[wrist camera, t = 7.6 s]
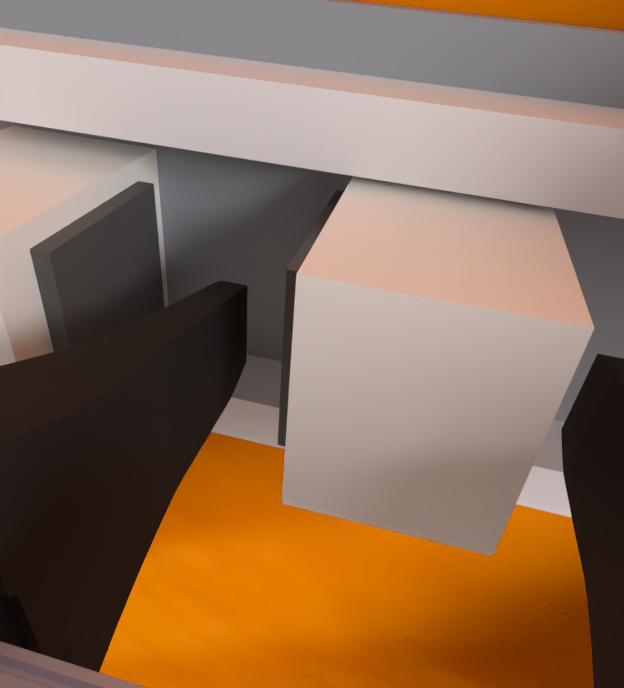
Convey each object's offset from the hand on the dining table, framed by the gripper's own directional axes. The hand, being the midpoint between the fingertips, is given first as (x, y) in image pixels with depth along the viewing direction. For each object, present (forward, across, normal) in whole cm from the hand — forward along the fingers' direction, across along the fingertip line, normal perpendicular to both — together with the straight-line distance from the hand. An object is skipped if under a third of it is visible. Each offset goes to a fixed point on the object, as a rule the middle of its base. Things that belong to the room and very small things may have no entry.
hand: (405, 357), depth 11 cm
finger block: (+3, 0, -1) cm, 3 cm away
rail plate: (+4, +2, 0) cm, 5 cm away
